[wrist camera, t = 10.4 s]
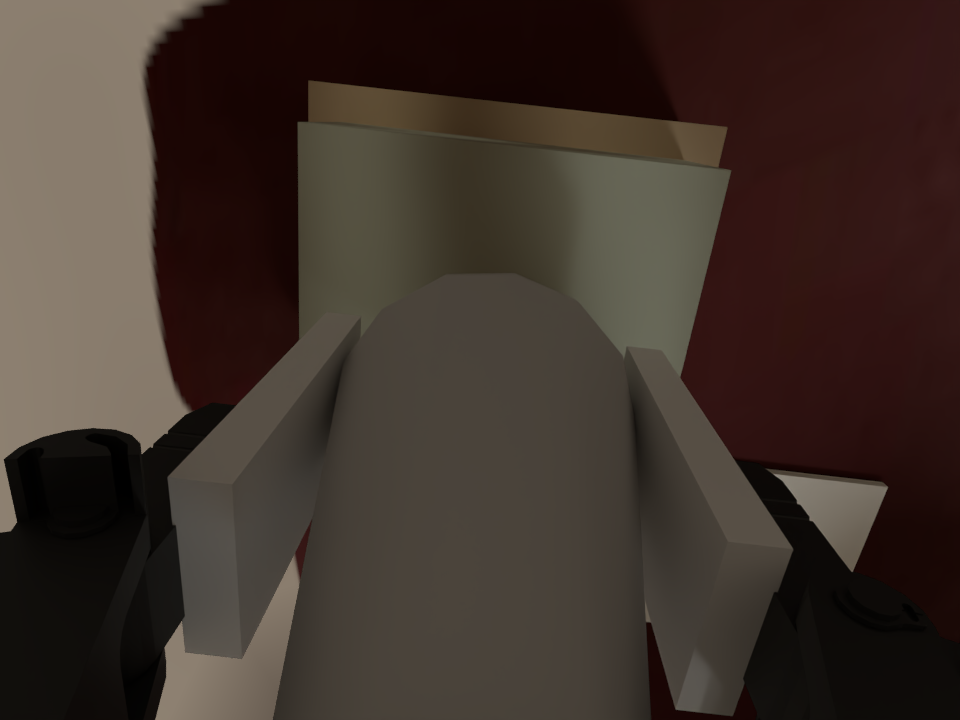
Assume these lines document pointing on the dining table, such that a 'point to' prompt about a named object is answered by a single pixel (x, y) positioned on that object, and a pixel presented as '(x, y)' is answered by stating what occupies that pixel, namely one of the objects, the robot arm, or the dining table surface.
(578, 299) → the zigzag patterned box
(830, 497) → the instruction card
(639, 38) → the dining table surface
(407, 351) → the salt shaker
